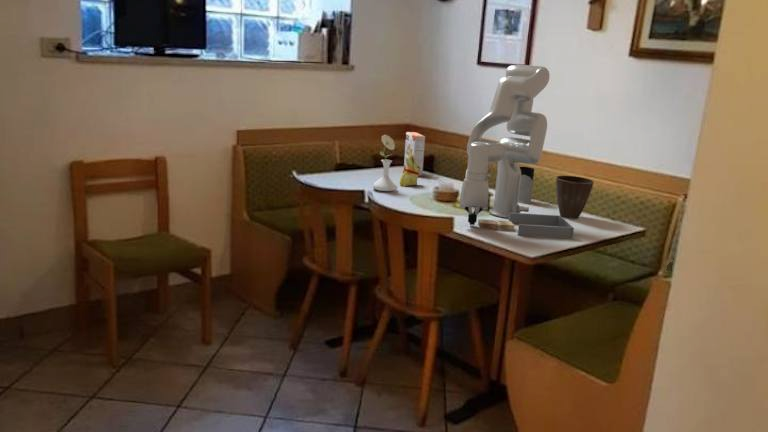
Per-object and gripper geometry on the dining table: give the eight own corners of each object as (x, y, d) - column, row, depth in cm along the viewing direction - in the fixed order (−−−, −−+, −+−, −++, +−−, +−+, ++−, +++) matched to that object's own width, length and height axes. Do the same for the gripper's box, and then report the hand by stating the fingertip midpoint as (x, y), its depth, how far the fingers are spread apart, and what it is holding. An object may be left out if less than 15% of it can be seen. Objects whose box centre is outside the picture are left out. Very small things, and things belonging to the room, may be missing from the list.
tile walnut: (493, 226, 254) (494, 220, 254) (496, 230, 248) (496, 224, 248) (477, 225, 254) (478, 219, 253) (480, 229, 248) (480, 223, 248)
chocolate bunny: (421, 185, 318) (424, 154, 315) (403, 187, 312) (405, 155, 309) (413, 182, 324) (415, 152, 320) (395, 184, 318) (397, 153, 314)
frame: (558, 225, 261) (560, 215, 260) (572, 238, 243) (573, 228, 242) (508, 222, 260) (509, 212, 259) (518, 235, 243) (519, 224, 242)
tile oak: (509, 227, 255) (510, 221, 254) (513, 231, 249) (514, 225, 248) (494, 226, 254) (495, 220, 254) (497, 230, 248) (498, 224, 248)
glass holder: (510, 201, 297) (514, 168, 294) (514, 195, 311) (518, 163, 307) (530, 204, 295) (534, 170, 291) (533, 197, 308) (537, 166, 304)
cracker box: (402, 171, 352) (405, 131, 347) (413, 171, 354) (416, 131, 349) (411, 176, 339) (414, 135, 334) (422, 176, 341) (426, 135, 336)
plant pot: (573, 211, 286) (578, 175, 282) (595, 220, 272) (601, 182, 268) (544, 212, 280) (549, 175, 276) (565, 222, 267) (570, 183, 263)
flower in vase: (401, 192, 299) (405, 137, 293) (377, 193, 295) (381, 137, 289) (390, 186, 311) (394, 133, 305) (367, 187, 307) (370, 133, 301)
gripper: (495, 175, 250) (489, 222, 255) (455, 173, 250) (451, 220, 254) (498, 179, 243) (493, 228, 247) (457, 177, 242) (453, 225, 247)
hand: (471, 224), depth 251 cm, fingers closed
